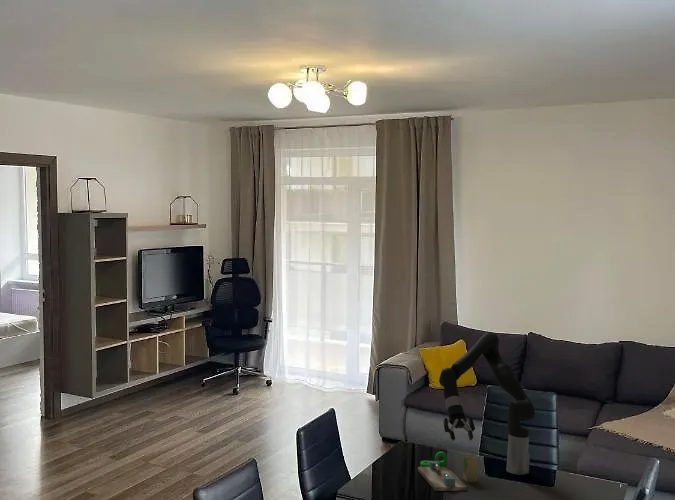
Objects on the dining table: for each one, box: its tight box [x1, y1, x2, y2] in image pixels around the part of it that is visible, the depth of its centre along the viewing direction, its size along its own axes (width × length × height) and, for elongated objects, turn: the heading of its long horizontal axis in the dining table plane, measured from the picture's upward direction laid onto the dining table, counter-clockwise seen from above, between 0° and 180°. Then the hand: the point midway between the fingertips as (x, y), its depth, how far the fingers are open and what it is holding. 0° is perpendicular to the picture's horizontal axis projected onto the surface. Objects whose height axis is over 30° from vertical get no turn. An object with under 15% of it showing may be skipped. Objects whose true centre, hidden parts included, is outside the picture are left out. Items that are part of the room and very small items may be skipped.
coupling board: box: [417, 460, 468, 492], centre depth 298 cm, size 14×25×4 cm, turn 10°
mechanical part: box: [419, 450, 448, 467], centre depth 315 cm, size 12×6×8 cm, turn 87°
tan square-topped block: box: [462, 455, 479, 483], centre depth 300 cm, size 4×4×10 cm
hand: (462, 439), depth 310 cm, fingers open, 8 cm apart
